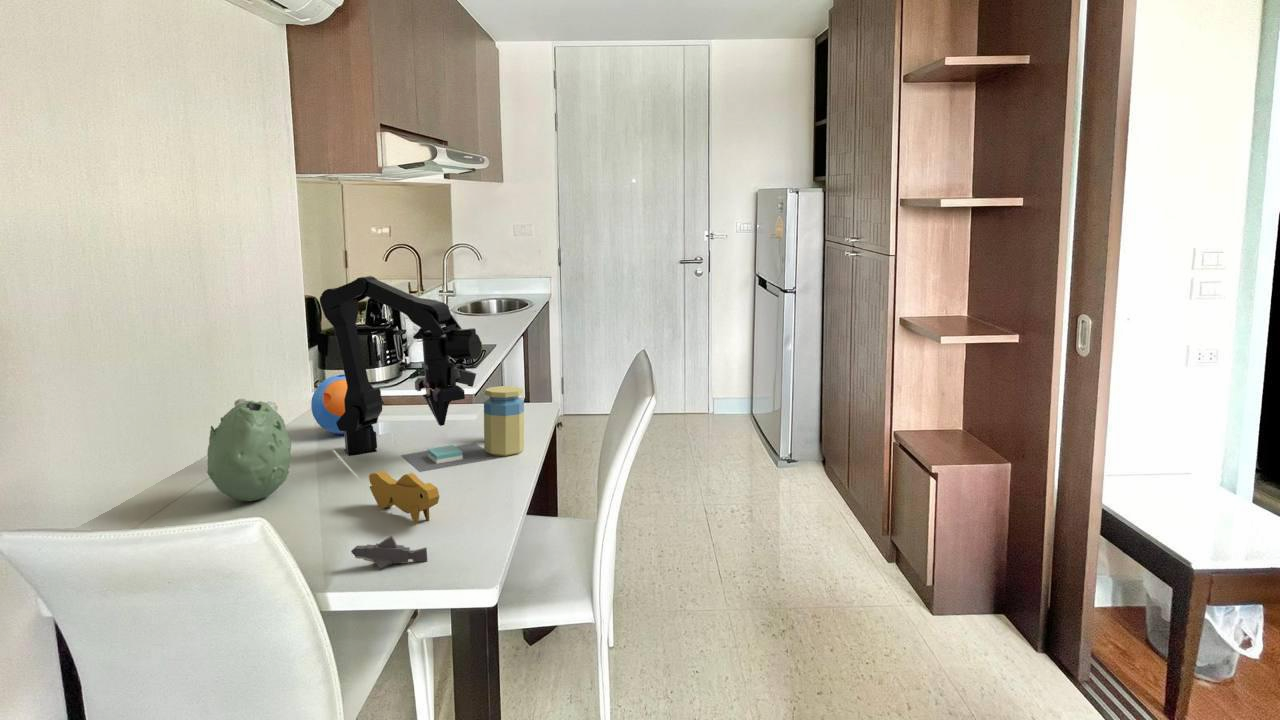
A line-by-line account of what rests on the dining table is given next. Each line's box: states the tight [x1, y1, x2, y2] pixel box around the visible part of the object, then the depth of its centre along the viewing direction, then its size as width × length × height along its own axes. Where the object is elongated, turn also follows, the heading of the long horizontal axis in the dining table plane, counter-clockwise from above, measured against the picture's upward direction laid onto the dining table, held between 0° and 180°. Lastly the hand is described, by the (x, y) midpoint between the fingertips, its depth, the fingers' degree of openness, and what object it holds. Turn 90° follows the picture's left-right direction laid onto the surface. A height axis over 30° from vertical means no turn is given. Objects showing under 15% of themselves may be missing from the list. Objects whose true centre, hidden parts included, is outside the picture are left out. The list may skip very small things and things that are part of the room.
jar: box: [483, 385, 525, 457], centre depth 204 cm, size 9×9×15 cm
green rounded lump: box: [206, 398, 292, 502], centre depth 177 cm, size 16×19×20 cm
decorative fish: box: [368, 470, 440, 525], centre depth 165 cm, size 22×3×10 cm, turn 44°
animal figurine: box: [350, 535, 428, 571], centre depth 142 cm, size 12×4×5 cm, turn 100°
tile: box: [426, 444, 463, 464], centre depth 202 cm, size 6×2×7 cm
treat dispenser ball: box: [310, 374, 347, 435], centre depth 229 cm, size 16×15×15 cm
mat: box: [400, 442, 498, 473], centre depth 203 cm, size 18×16×1 cm
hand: (441, 425), depth 202 cm, fingers closed
